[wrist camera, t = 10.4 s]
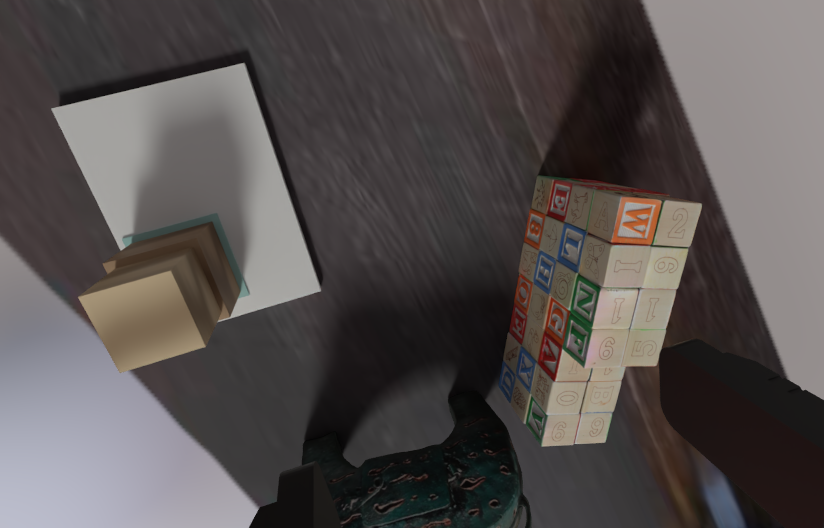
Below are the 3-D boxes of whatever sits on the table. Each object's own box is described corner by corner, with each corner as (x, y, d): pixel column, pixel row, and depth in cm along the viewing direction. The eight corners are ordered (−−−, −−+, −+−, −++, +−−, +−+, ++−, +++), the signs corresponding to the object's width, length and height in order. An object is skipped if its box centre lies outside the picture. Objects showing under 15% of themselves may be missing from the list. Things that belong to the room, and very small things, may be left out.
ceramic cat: (298, 482, 45) (288, 742, 26) (279, 429, 43) (252, 672, 24) (488, 422, 47) (602, 621, 29) (479, 369, 45) (596, 548, 27)
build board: (59, 108, 32) (49, 108, 30) (245, 64, 33) (243, 62, 32) (167, 332, 38) (162, 339, 37) (320, 286, 39) (321, 291, 38)
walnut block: (131, 243, 34) (102, 263, 29) (212, 221, 35) (196, 237, 30) (165, 313, 36) (143, 343, 31) (240, 291, 37) (230, 317, 32)
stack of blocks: (552, 385, 48) (628, 470, 36) (496, 385, 46) (556, 475, 35) (598, 178, 42) (707, 202, 30) (535, 172, 40) (624, 195, 29)
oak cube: (115, 268, 30) (78, 297, 25) (192, 246, 30) (170, 270, 26) (148, 334, 31) (119, 372, 27) (221, 312, 32) (205, 346, 27)
